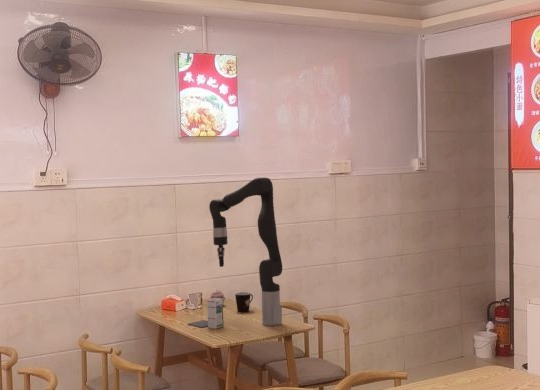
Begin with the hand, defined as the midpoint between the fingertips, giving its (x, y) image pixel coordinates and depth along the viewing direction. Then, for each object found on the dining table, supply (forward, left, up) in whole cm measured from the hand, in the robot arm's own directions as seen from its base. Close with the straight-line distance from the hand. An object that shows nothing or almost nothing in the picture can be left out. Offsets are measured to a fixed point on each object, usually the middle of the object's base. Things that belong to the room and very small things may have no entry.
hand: (221, 265), depth 379 cm
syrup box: (-17, +20, -28) cm, 38 cm away
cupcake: (+24, -17, -28) cm, 40 cm away
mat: (-7, +20, -28) cm, 35 cm away
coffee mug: (0, -17, -28) cm, 32 cm away
